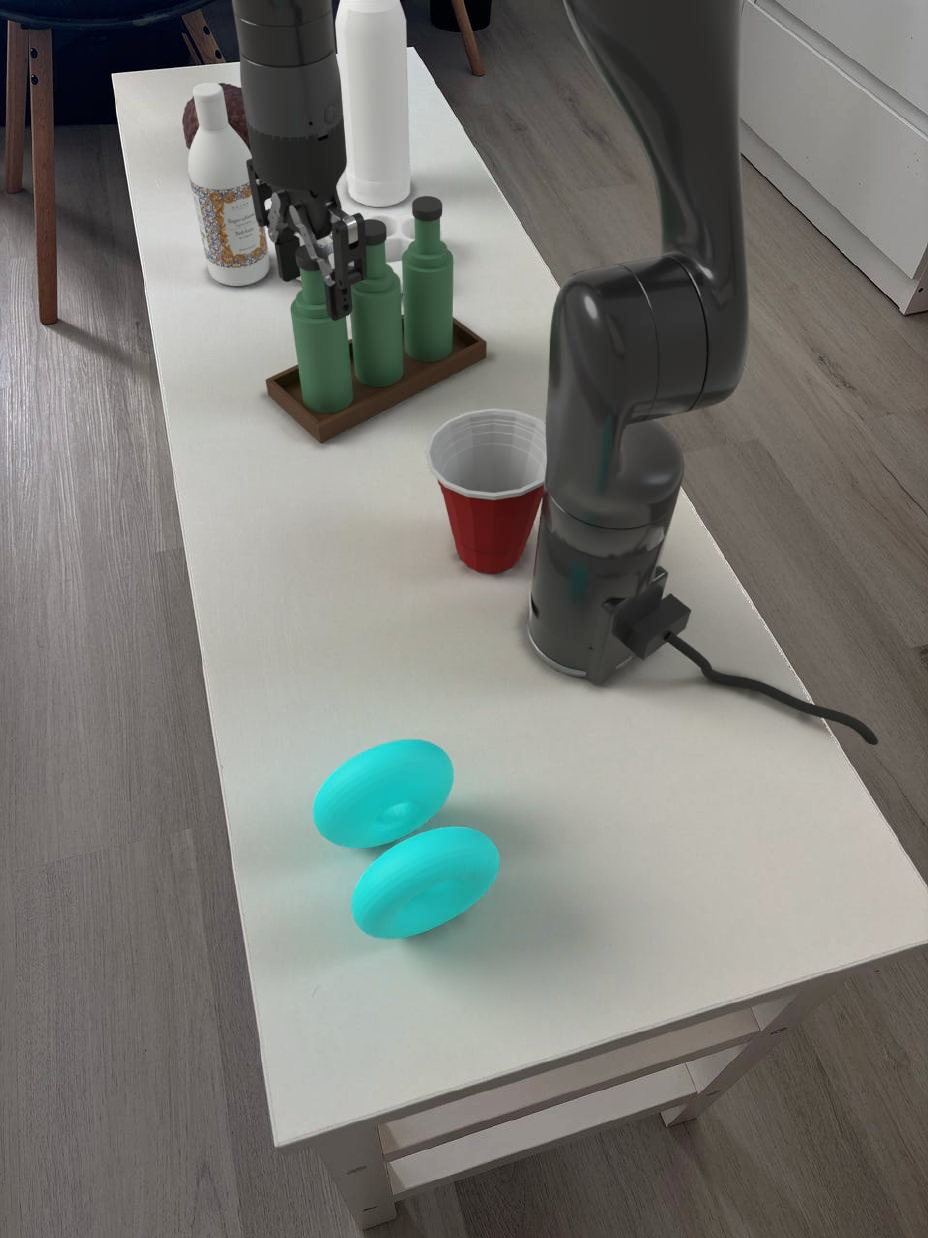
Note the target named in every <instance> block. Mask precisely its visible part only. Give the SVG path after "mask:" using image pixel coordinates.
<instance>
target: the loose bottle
mask: <svg viewBox="0 0 928 1238" xmlns="http://www.w3.org/2000/svg"><path fill="white" fill-rule="evenodd" d="M318 245H319V246H321V247H322V245H320V244H318ZM295 254H296V262H297V265H298V267H299V268H300V275H301V281H300V283H301V289H300V290H299V291H298V292H297V294H296V296H295V298H294V299H293V301H292V302H291V304H290V308H289V310H290V311H289V312H290V317H291V324H292V333H293V339H294V345H295V346H294V347H295V352H296V360H297V364H298V368H299V375H300V382H301V389H302V397H303V402H304V404H305V405H306V407H307V408H309V409H310V410H312V411H314V412H317V413H322V414H331V413H336V412H340V411H342V410H344V409H345V408H347V407H348V406H349V405H350V404H351V402H352V400H353V389H352V377H351V366H350V355H349V343H348V340H349V334H348V323H347V321H348V320H347V316H346V317H344V318H342V319H339V320H337V321H333V320H332V319H331V318H329V317H328V315H327V307H326V298H325V288H324V282H325V280H324V277H323V275H322V272H321V269H320V267H319V264H318V262H317V261H316V260H313V259H312V258H311V257H310V256H309V253H308V251H307V248H306V245H302V246H300V247H299V248H298V249H297V250H296V253H295Z"/></svg>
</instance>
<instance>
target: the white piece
mask: <svg viewBox="0 0 928 1238" xmlns="http://www.w3.org/2000/svg"><path fill="white" fill-rule="evenodd" d="M362 216H363V218H364V220H367V219H375V220H379V221H382V222H383V223H384V224H385V225H386V231H387V238H386V240H385V257H386V264H388V265H390V266H391V267H392V269H393V271H394V272H395V273H396V274H397V275H398V276H399V278H400V282H401V294H403V278H402V255H403V253H404V252H405V251H406V250H407V249H408V246H409V244H410V243H411V242H412V241H414V240H415V222H414V216H413V214H408V215H396V214H392V213H391V214H390V213H388V212H369V213H367V214H364V215H363V214H362ZM442 228H443V227H442V225H441V224H440V240H441V241H443V229H442ZM331 233H332V232H331ZM295 235H296V236H297V237H298V238H299V240H300V246H302V245H305V243H304V240H303V238H302V236H301V235H300V234H299V233H297V234H295ZM331 242H333V240H332V239H331V238H330V235H329V236H327V237H325V238H322V239H320V240H317V243H318V244H320V245H322V246H324V245H327V244H329V243H331ZM328 259H329V262H330V264H331V267H332V269H334V268H335V267H334V253H332V254H330V255H329V256H328ZM352 264H353V266H354V261H353V262H352ZM294 280H297V281H299V282H301V276H300V277H298V278H295V279H294Z"/></svg>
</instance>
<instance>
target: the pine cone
mask: <svg viewBox="0 0 928 1238" xmlns="http://www.w3.org/2000/svg"><path fill="white" fill-rule="evenodd" d="M218 84H219V85H220V86H221V87H222V89H223V93H224V99H225V105H226V111H227V117H228V123H229V125H230V126H231V127H232V128H233V129H234V130H235V132H236V133H237V134H238V135H239V136H240V137H241V139H242V140H243V141H244V143H245V144H246V146H247V147H248V149H249V151H250V153H251V148H250V141H249V135H248V128H247V122H246V115H245V109H244V102H243V96H242V89H241V86H240V87H238V86H235V85H232V84H231V83H225V82H220V83H218ZM181 120H182V121H181V123H182V130H183V131H182V132H183V136H184V141H185V146H186V148H187V149H188V150H189V151H190V148H191V145H192V142H193V140H194V137H195V135H196V133H197V131H198V128H199V121H198V116H197V111H196V106H195V101H194V96H193V95H192V98H191V99H190V100H189V101H187V102H186V105H185V106H184V110H183V115H182V118H181ZM251 155H252V154H251Z"/></svg>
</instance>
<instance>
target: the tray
mask: <svg viewBox="0 0 928 1238" xmlns="http://www.w3.org/2000/svg"><path fill="white" fill-rule="evenodd" d="M402 337H403V365H404V373H403V376H402V378H401V379H400V380H399V381H398V382H397V383H395V384H393V385H391V386H387V387H370V386H367V385H364V384H363V383H361V382H360V381H359V380H358V379H357V378H356V376H355V368H354V356H353V344H352V338H350V339H348V343H349V355H350V366H351V377H352V389H353V400H352V402H351V404H350V405H349V406H348V407H347V408H345V409H344V410H342V411H340V412H336V413H331V414H322V413H317V412H314V411H312V410H310V409H309V408H307V407H306V405H305V404H304V402H303V397H302V389H301V382H300V375H299V368H298V363H297V364H296V365H293V366H291V367H289V368H287V369H284V370H283V371H281V372H279V373H276V374H274V375H272V376H270V377H268V378H266V379H265V385H266V391H267V395H268V397H269V398H270V399H272V400H273V402H275V403H276V404H277V405H278V406H279V407H280V408H281V409H283V410H284V411H285V413H287V414H288V415H289V416H290V417H291V419H293V420H294V421H296V422H297V424H298V425H300V426H301V427H302V428H303V429H304V430H305V431H306V432H308V434H310V436H312V438H314V439H315V440H316V441H317V442H318V443H320V444H323V443H324V442H326V441H329V440H330V439H332V438H334V437H336V436H338V435H340V434H342V433H344V432H346V431H347V430H349V429H352V428H353V427H356V426H357V425H359V424H361V423H363V422H365V421H368V419H371V418H373V417H375V416H376V415H379V414H380V413H382V412H384V411H386V410H388V409H390V408H391V407H394V406H396V405H398V404H399V403H401V402H403V401H405V400H407V399H409V398H411V397H413V396H415V395H417V394H419V393H421V392H423V391H424V390H427V389H428V388H430V387H432V386H434V385H436V384H438V383H440V382H442V381H444V380H446V379H448V378H450V377H452V376H453V375H455V374H458V373H459V372H461V371H463V370H465V369H467V368H469V367H471V366H473V365H474V364H476V363H478V362H480V361H483V360H484V359H486V358H487V348H488V342H487V340H485V339H484V338H482V337H481V336H480V335H478V334H477V333H475V332H474V331H473V330H472V329H470V328H469V327H467V326H466V325H464V324H463V323H462V322H461V321H459V320H458V319H456V318H455V317H454V316H453V333H452V351H451V353H450V354H449V355H448V356H447V357H446V358H444V359H442V360H440V361H436V362H421V361H418V360H415V359H413V358H411V357H410V356H409V355H408V354H407V353H406V350H405V337H404V313H403V314H402Z"/></svg>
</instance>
